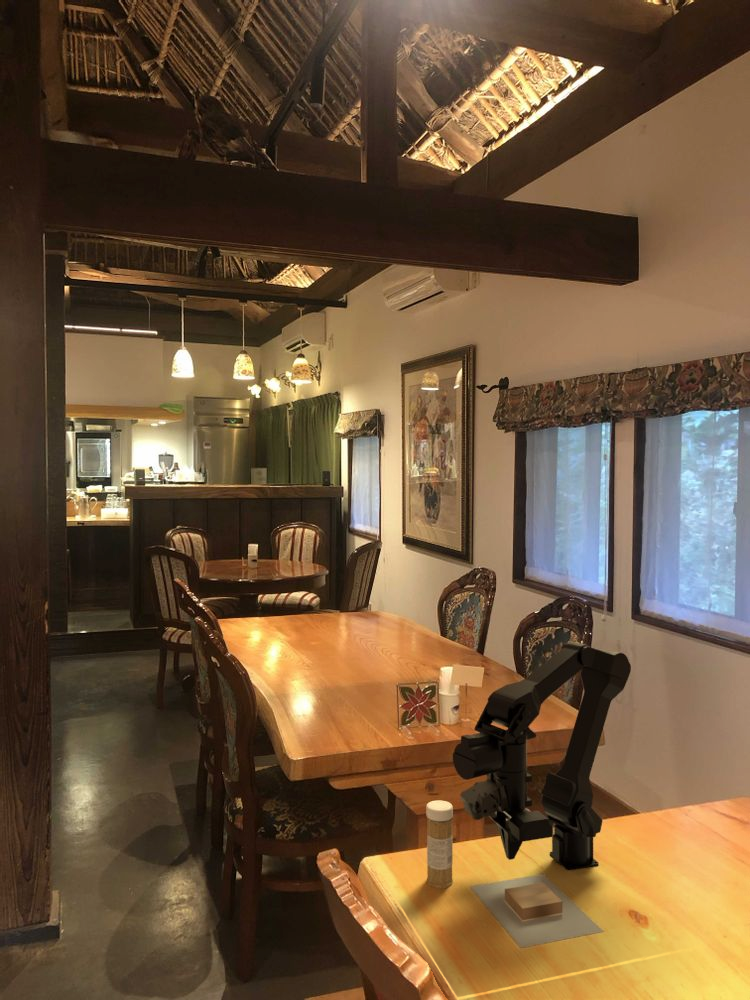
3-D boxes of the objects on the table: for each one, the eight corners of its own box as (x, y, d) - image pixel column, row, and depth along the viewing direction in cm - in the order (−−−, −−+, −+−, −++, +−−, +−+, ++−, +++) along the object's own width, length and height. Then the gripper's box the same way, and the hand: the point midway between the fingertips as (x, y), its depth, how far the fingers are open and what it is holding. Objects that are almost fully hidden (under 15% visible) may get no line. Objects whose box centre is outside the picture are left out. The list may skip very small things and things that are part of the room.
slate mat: (543, 875, 128) (543, 873, 128) (603, 933, 111) (603, 931, 111) (469, 888, 124) (469, 886, 124) (520, 949, 106) (520, 947, 106)
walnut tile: (542, 882, 121) (562, 901, 115) (542, 894, 121) (562, 914, 115) (504, 889, 119) (522, 908, 113) (504, 901, 119) (522, 921, 113)
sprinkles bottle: (437, 873, 129) (437, 797, 129) (458, 882, 125) (458, 804, 126) (421, 883, 125) (420, 804, 125) (442, 893, 122) (441, 812, 122)
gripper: (444, 754, 131) (445, 841, 131) (492, 793, 113) (492, 894, 113) (500, 747, 135) (501, 832, 134) (555, 784, 117) (555, 882, 117)
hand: (510, 858), depth 125 cm, fingers closed
